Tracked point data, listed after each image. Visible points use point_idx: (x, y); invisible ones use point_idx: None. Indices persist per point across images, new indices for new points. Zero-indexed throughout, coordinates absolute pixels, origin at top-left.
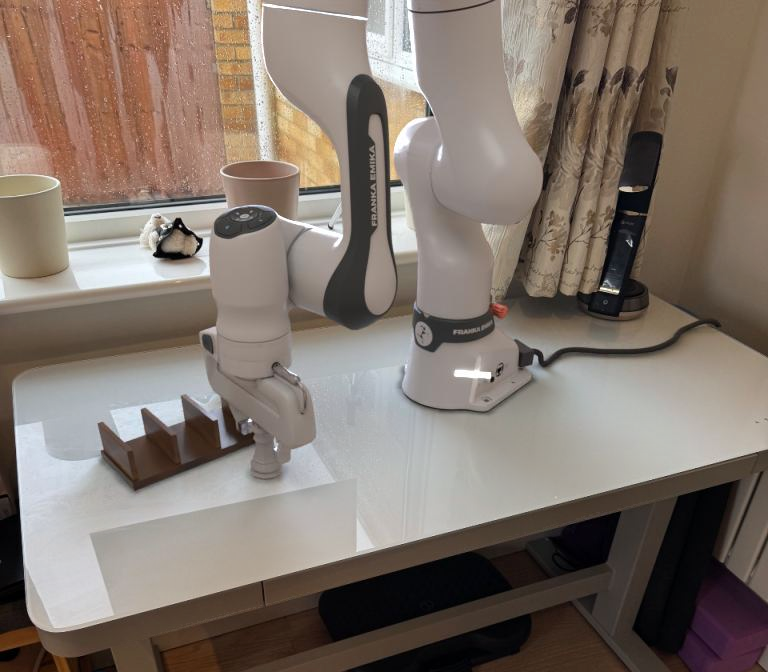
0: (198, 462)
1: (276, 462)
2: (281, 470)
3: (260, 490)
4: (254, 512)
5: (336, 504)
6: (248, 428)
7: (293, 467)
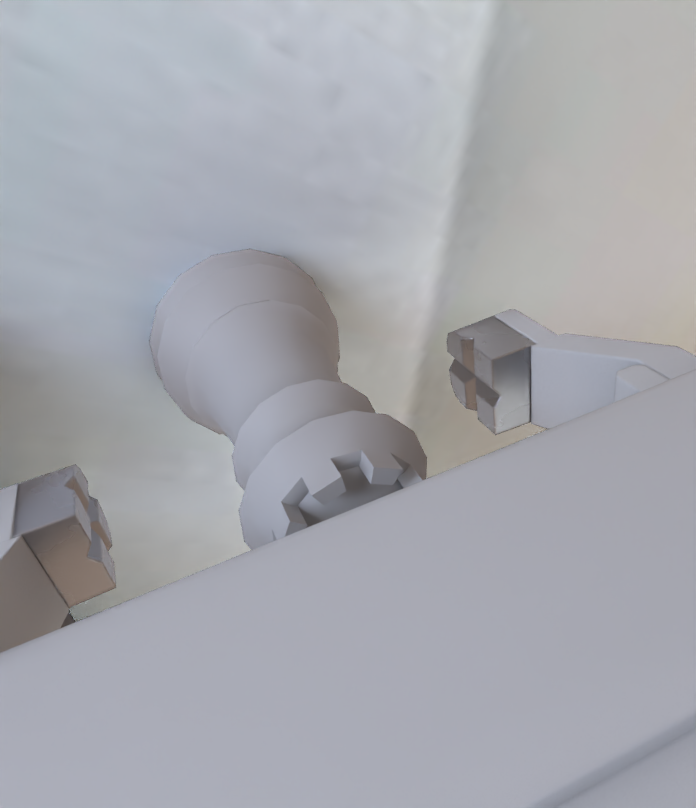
0: (67, 621)
1: (322, 320)
2: (299, 272)
3: (367, 389)
4: (478, 433)
5: (629, 96)
6: (86, 508)
7: (254, 178)
